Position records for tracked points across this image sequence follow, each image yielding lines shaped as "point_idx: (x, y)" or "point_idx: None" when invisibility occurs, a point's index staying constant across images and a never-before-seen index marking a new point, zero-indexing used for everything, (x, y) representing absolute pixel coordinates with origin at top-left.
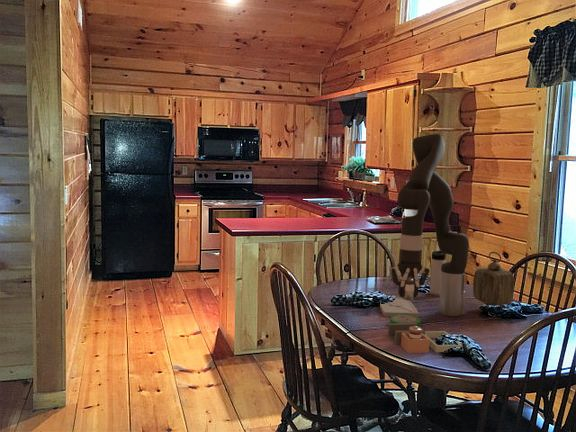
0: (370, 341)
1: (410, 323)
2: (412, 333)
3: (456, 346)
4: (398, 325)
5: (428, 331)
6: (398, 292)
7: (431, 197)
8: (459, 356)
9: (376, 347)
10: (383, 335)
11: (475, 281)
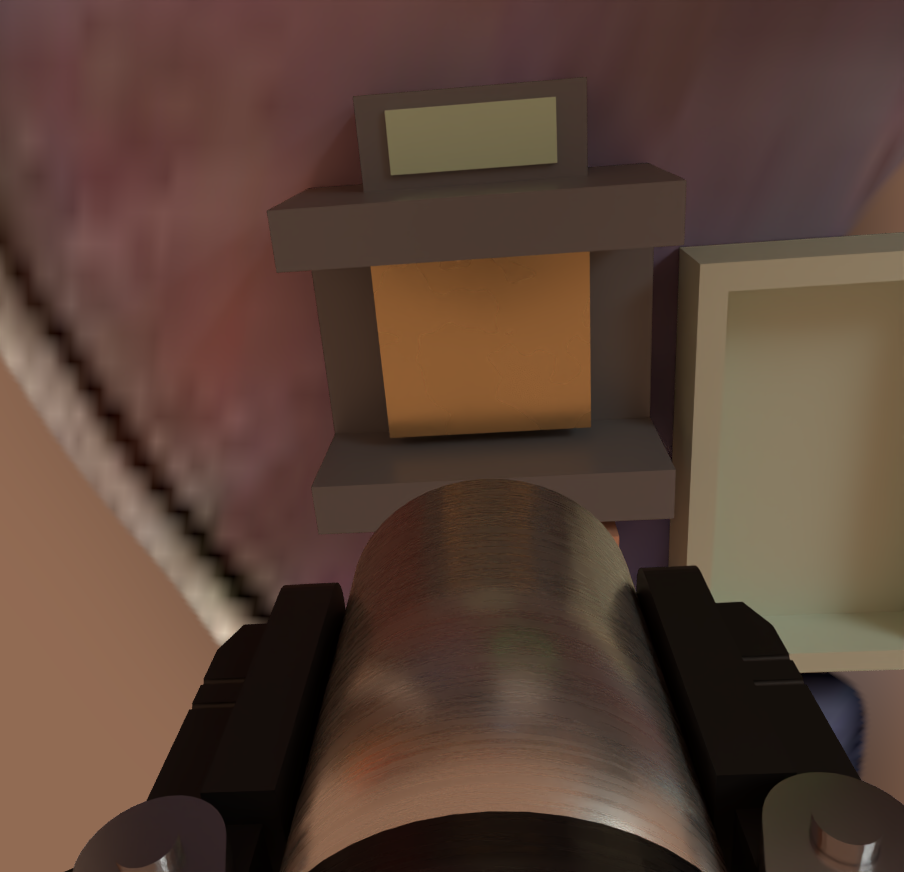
0: (104, 314)
1: (601, 208)
2: None
3: (887, 661)
4: (408, 262)
5: (812, 258)
6: (211, 684)
7: None
8: (845, 681)
9: (155, 472)
10: (270, 117)
11: None
